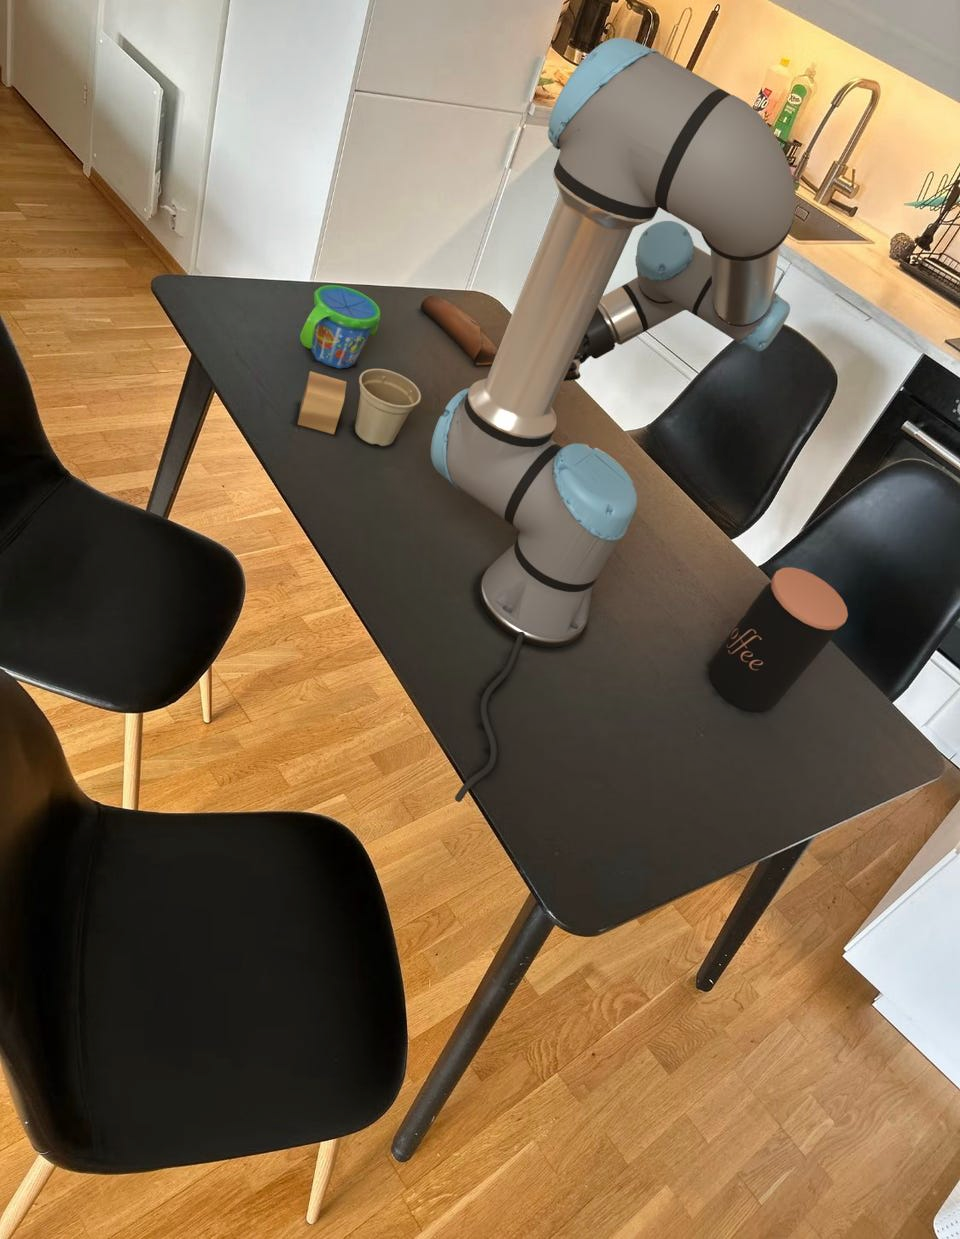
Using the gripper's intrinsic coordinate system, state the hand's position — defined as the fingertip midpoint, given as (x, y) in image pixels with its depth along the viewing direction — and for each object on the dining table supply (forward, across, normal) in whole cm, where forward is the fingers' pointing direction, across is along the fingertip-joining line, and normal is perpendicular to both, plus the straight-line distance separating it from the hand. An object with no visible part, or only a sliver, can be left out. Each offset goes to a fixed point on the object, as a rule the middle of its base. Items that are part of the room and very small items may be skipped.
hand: (467, 401), depth 149 cm
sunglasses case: (-3, +35, -15) cm, 38 cm away
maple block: (+21, +2, +9) cm, 23 cm away
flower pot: (+15, 0, +3) cm, 15 cm away
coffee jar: (-15, -49, -28) cm, 58 cm away
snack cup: (+17, +21, +5) cm, 27 cm away
